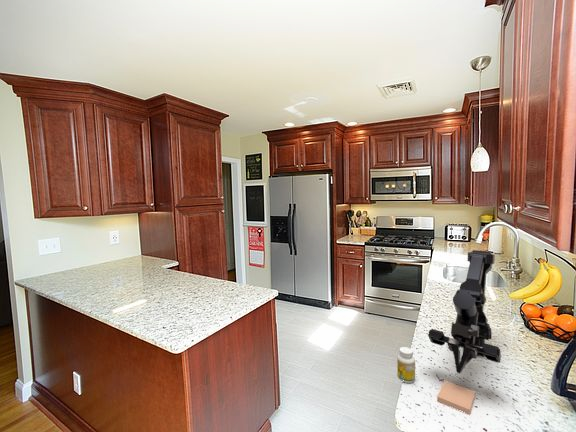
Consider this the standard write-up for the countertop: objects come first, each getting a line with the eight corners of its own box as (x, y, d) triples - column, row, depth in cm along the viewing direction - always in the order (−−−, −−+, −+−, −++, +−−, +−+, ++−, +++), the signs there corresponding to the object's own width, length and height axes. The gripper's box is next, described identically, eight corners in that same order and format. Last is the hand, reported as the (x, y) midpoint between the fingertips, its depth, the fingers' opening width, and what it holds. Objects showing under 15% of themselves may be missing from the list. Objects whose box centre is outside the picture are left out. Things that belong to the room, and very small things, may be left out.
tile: (445, 380, 88) (437, 396, 81) (475, 391, 83) (469, 409, 76) (445, 386, 88) (437, 402, 82) (475, 398, 83) (469, 416, 76)
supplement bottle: (418, 383, 89) (418, 354, 89) (401, 383, 89) (401, 355, 89) (410, 372, 95) (410, 345, 94) (394, 373, 95) (394, 345, 94)
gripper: (430, 304, 92) (419, 351, 85) (500, 320, 80) (495, 376, 72) (436, 319, 99) (426, 364, 91) (502, 336, 86) (498, 389, 79)
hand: (458, 372), depth 83 cm, fingers closed
